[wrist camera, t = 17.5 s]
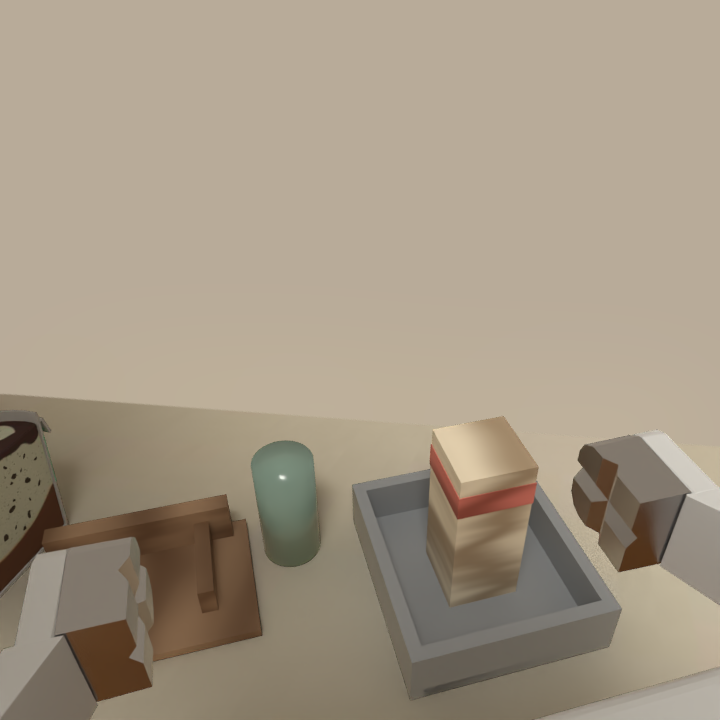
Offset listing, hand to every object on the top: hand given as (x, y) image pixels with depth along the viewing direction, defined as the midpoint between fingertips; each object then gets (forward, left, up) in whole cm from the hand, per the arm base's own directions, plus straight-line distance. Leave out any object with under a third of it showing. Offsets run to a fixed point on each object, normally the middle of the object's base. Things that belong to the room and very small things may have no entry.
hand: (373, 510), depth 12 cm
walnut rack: (-10, +21, -28) cm, 36 cm away
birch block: (+11, +17, -27) cm, 34 cm away
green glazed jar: (0, +23, -28) cm, 36 cm away
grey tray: (+11, +17, -28) cm, 35 cm away
